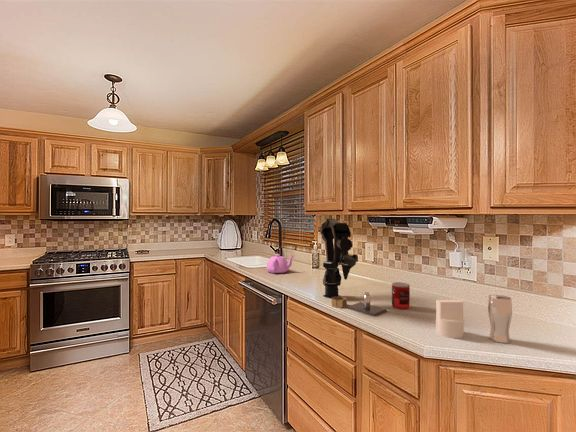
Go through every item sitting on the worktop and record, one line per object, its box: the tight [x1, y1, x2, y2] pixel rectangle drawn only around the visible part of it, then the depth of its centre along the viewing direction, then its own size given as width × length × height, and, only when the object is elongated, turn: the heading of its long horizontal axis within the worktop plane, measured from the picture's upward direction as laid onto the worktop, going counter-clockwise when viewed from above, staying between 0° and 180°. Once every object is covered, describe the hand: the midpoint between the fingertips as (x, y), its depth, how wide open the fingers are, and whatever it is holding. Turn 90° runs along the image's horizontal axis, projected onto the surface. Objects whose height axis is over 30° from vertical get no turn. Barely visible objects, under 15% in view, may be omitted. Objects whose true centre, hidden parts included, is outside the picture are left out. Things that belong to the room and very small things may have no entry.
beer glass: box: [487, 294, 513, 344], centre depth 107 cm, size 7×7×15 cm
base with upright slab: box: [435, 299, 465, 339], centre depth 112 cm, size 9×9×12 cm
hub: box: [331, 295, 348, 309], centre depth 147 cm, size 7×7×4 cm
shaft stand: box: [347, 291, 388, 317], centre depth 140 cm, size 14×10×8 cm
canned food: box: [391, 281, 411, 310], centre depth 144 cm, size 8×8×11 cm
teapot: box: [265, 253, 295, 274], centre depth 232 cm, size 22×22×14 cm
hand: (339, 280), depth 147 cm, fingers open, 9 cm apart
